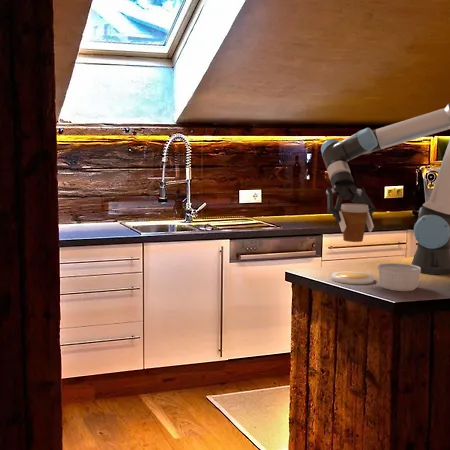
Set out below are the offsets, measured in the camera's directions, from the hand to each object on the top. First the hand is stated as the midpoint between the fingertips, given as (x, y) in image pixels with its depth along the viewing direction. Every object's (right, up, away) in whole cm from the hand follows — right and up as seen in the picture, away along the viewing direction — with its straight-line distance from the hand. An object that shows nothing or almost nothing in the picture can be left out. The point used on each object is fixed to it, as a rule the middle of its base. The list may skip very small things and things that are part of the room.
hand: (357, 229), depth 228 cm
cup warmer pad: (-1, -17, +5) cm, 18 cm away
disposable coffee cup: (-1, -4, +4) cm, 6 cm away
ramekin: (+12, -19, -5) cm, 23 cm away
